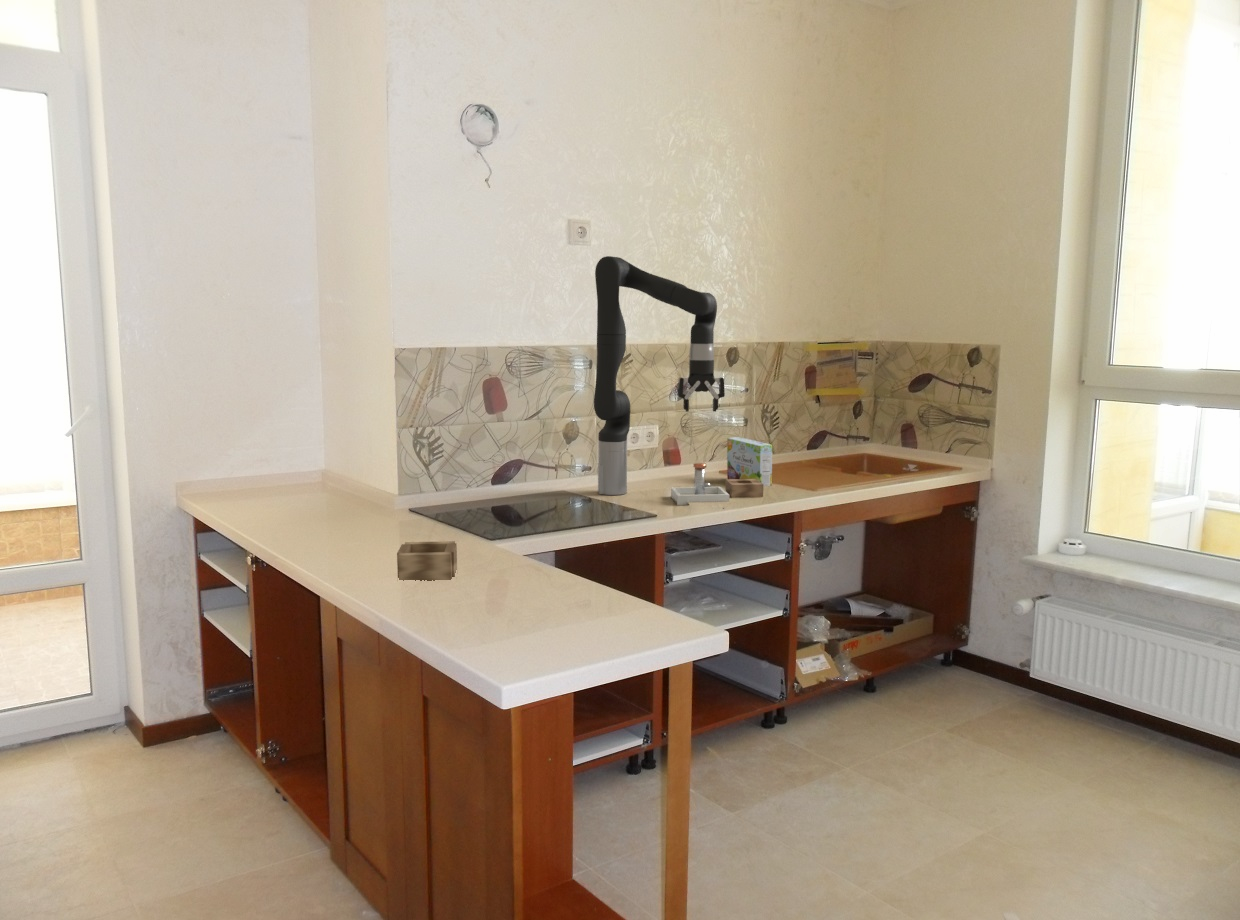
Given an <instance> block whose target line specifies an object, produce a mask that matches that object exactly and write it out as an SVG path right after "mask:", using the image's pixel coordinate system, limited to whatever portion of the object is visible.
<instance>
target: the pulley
mask: <svg viewBox="0 0 1240 920" xmlns="http://www.w3.org/2000/svg"><path fill="white" fill-rule="evenodd" d="M705 487H718V486H716V485H711V482H705Z"/></svg>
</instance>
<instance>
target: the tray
mask: <svg viewBox="0 0 1240 920" xmlns="http://www.w3.org/2000/svg"><path fill="white" fill-rule="evenodd" d="M670 497H671V498H672V500H673V501H674V503H675V504H676V505H677V506H690V503H706V502H707V503H708V502H709V503H711V502H713V503H714V502H715V503H716V502H717V503H718V502H721V503H722V502H730V496H729V494H728V493H727V492H726V491H725V489H724V488H723V487H722V486H717V487H705V495H694V486H681V487H680V486H679V487H678V486H677V487H676V486H674V487H670Z"/></svg>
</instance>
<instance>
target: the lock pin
mask: <svg viewBox="0 0 1240 920" xmlns="http://www.w3.org/2000/svg"><path fill="white" fill-rule="evenodd" d="M692 467H693V468H694V486H693V487H694V494H693V495H706V494H705V483H706V480H705V479H706V468H707V463H705V462H695V463H693V466H692Z"/></svg>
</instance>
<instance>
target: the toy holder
mask: <svg viewBox="0 0 1240 920" xmlns="http://www.w3.org/2000/svg"><path fill="white" fill-rule="evenodd" d="M457 546H458V545H457V542H456V541H455V540H454V541H453V540H450V541H449V540H447V541H445V540H443V541H405V542H404V543H403V544H401V545H400V547H399V549H398V550H397V552H396V558H397V559H396V564H397V567H396V568H397V579H398V578H399V580H403V581H404V580H415V581H416V580H420V581H422V580H424V581H425V580H427V581H432V580H433V581H435V580H451V579H452V577H455V573H456V570H457V571H458V554H457V553H458V550H457V549H458V548H457Z"/></svg>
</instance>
